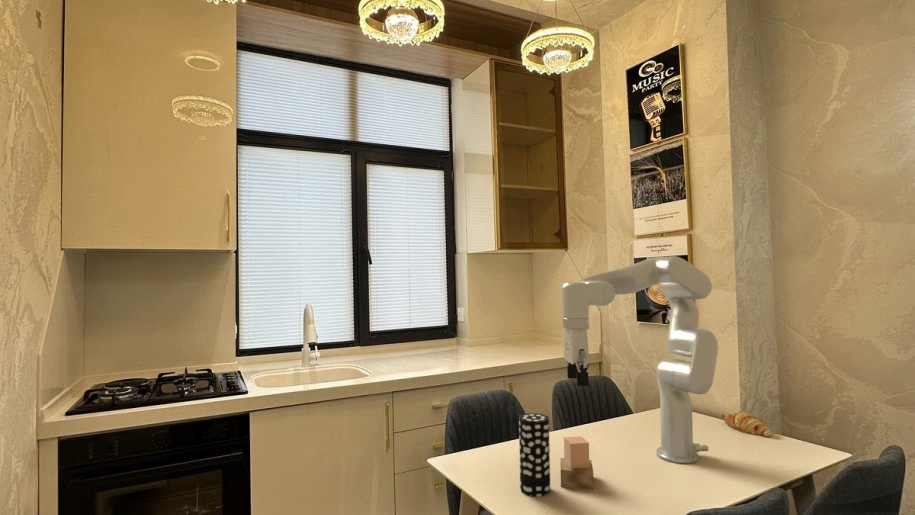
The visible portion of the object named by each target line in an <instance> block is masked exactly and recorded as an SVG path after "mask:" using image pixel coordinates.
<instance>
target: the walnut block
mask: <svg viewBox="0 0 915 515" xmlns="http://www.w3.org/2000/svg"><path fill="white" fill-rule="evenodd" d="M559 460H560V463H559V464H560V487H561V488H571V489H572V488H573V489H585V490H586V489H587V490H594V489H595V486H594V484H595V482H594V469H593V462H592V459H589V468H575V469H571V468H570V467H569V466H568V465H567V464H566V463H565V461H564V457H560V459H559Z"/></svg>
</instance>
